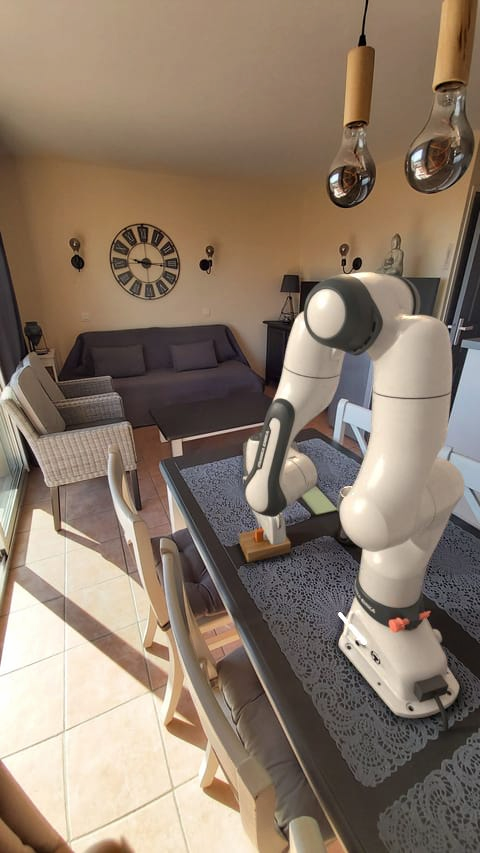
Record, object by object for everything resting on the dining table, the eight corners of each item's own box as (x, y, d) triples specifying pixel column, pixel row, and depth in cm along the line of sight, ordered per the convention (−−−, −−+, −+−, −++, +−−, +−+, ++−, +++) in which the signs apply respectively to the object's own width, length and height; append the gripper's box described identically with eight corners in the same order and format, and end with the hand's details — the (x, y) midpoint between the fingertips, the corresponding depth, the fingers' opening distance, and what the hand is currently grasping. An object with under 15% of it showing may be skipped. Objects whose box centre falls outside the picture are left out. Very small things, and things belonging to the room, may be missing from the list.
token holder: (290, 554, 97) (290, 542, 95) (248, 565, 94) (247, 553, 92) (279, 535, 104) (279, 524, 102) (239, 545, 101) (238, 533, 99)
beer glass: (329, 535, 104) (333, 490, 98) (347, 526, 107) (351, 483, 101) (347, 549, 98) (352, 503, 92) (365, 540, 101) (371, 495, 95)
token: (274, 546, 98) (274, 528, 96) (256, 550, 97) (256, 532, 95) (272, 543, 99) (272, 525, 97) (255, 547, 98) (255, 529, 96)
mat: (337, 510, 114) (337, 509, 114) (278, 523, 109) (278, 522, 109) (308, 478, 132) (308, 477, 131) (256, 489, 126) (256, 488, 126)
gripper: (293, 512, 83) (291, 559, 88) (262, 470, 101) (262, 511, 106) (267, 518, 81) (267, 565, 87) (240, 474, 99) (242, 515, 105)
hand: (264, 535), depth 97 cm, fingers closed on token, 1 cm apart
